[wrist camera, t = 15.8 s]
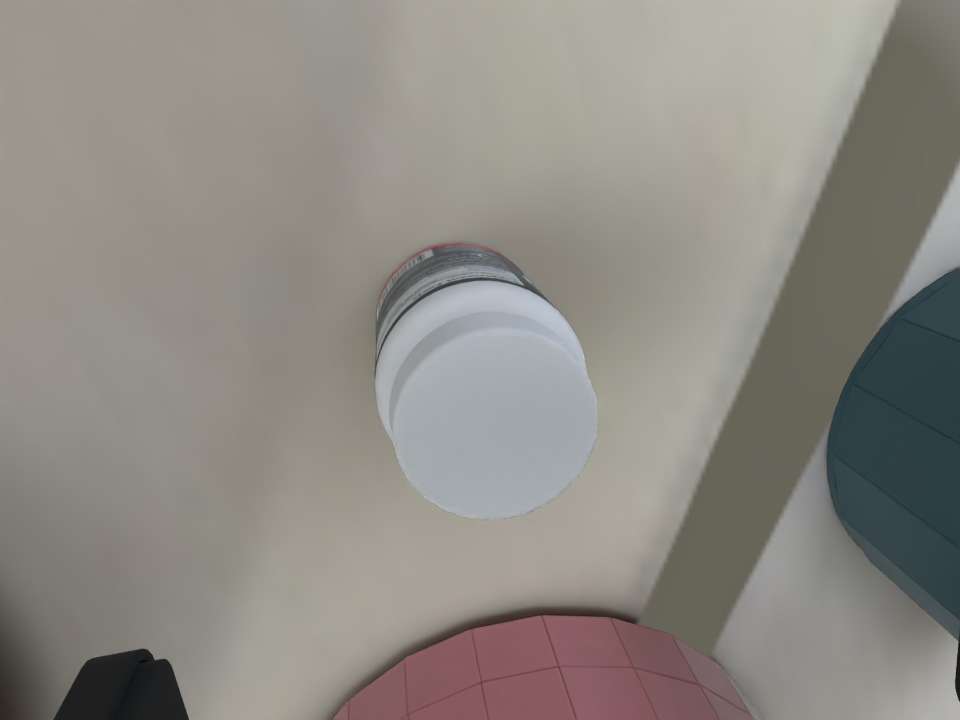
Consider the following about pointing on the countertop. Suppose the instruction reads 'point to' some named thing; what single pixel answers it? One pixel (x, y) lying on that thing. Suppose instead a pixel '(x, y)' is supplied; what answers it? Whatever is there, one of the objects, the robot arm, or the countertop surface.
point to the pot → (906, 451)
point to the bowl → (554, 677)
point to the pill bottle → (480, 384)
